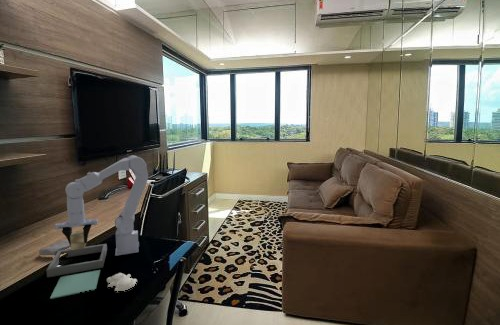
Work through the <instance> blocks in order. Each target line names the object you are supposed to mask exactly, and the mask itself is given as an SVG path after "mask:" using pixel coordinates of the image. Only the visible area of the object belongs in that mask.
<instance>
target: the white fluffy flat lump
mask: <svg viewBox="0 0 500 325" xmlns="http://www.w3.org/2000/svg"><path fill="white" fill-rule="evenodd" d="M130 277H131V278H130ZM136 282H137V283H138V279H137V278H132V275H131V274H130V273H128V274H125V273H122V272H118V273H115V274H114V275H112V276H109V277H107V278H106V283H107V288H108V287H111V288H114V292H115V291H117V292H116V293H119V292H118V291H124V292H126V291H125V290H128V289H130V288H132V287H134V286H135V284H136V285H137V283H136ZM109 283H110V284H109ZM113 286H115V287H113ZM134 288H135V287H134ZM132 289H133V288H132ZM130 290H131V289H130ZM128 291H129V290H128Z"/></svg>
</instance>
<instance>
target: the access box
mask: <svg viewBox="0 0 500 325" xmlns="http://www.w3.org/2000/svg"><path fill="white" fill-rule="evenodd" d="M107 251H108V245H107V243H103V244H102V243H101V244H97V245H89V246H85V248H81V249H74V250H71V249H67V250H61V251H58V252H57V254H56V255H55V257H54V259H53V258H52V259H51V262H50V263H49V265H48V267H47V268H46V278H51V277H56V276H57V277H59V276H62V275H63V276H65V275H70V274H76V273H79V272H81V273H82V272H85V271H86V272H87V271H92V270H96V269H97V270H98V269H102V268H104V266H105V260H106V256H107V253H108V252H107ZM64 253H68V256H67V257H66V258H71V257H77V256H84V255H89V254H98V253H101V254H100V256H99V259H97V260H91V261H84V262H78V263H71V264H67V265H65V264H64V265H59V264H60V262H59V257H60V255H61V254H64ZM58 265H59V266H58ZM56 266H57V267H56Z"/></svg>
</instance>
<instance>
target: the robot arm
mask: <svg viewBox="0 0 500 325" xmlns="http://www.w3.org/2000/svg"><path fill="white" fill-rule="evenodd" d="M147 166H148V164H147V163H146V161H145V160H144V159H143V158H142V157H141V156H137V155H133V154H131V155H129V156H127V157H124V158H122V159H119V160H118V161H115V163H112V164H111V165H110V166H109V165H108V167H106V168H104V169H103V170H100V171H99V172H96V171H92V172H91V171H89V172H87V173H86V175H85V176H83V177H80V178H79V179H78V178H77V179H74V181H72V182H69V183H67V185H65V189H64V190H65V194H66V209H67V210H66V211H67V221H65V222H59V223H55V225H54V228H55V229H54V230H55V231H57V230H59V229H61V233H62V234H63V235H64V237H65V238H66V240H68V241H69V244H70V245H71V240H70V235H71V233H72V232H73V228H76V227H82V230H83V231H84V242H85V243H86V244H87V242H88V237H89V233H90V230H91V228H92V226H97V225H98V224H99V220H98V218H95V219H94V218H93V219H91V218H90V219H86V213H85V201H84V199H83V198H84V196H83V195H84V194H85V192H88V191H91V190H92V189H94V188H96V187H97V186H99V185H101V184H102V183H103V180H104V179H106V178H108V177H110V176H112V175H114V174H116V173H119V172H120V171H130V170H131V172H132V174H133V175H134V177H135V179H134V181H133V184H132V185H131V186H132V187H131V189H130V192H129V194H128V197H127V200H126V201H125V204H124V207H123V209H122V210H121V211H120V213H119V215H118V216H117V217H116V218H115V220H114V226H115V228H117V229H116V231H115V246H116V248H115V252H114V253H115V254H114V256H121V255H129V254H134V253H139V247H140V241H139V230H135V228H134V227H135V226H134V223H135V213H136V211H137V208H138V206H139V203H140V201H141V198H142V195H143V193H144V190H145V187H146V185H147V183H148V180H149V172H148V169H147V168H148V167H147Z"/></svg>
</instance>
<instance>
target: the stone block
mask: <svg viewBox="0 0 500 325" xmlns="http://www.w3.org/2000/svg"><path fill="white" fill-rule="evenodd" d="M69 247H71V245H70V244H69V241H68V239H66V240H60V241H57V242H55V243H52V244H50V245H49V246H48V247H44V248H42V249H40V250H39V253H38V255H39V254H40V255H56V254H57V252H58V251H61V250H65V249H67V248H69ZM40 255H39V256H40Z"/></svg>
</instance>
